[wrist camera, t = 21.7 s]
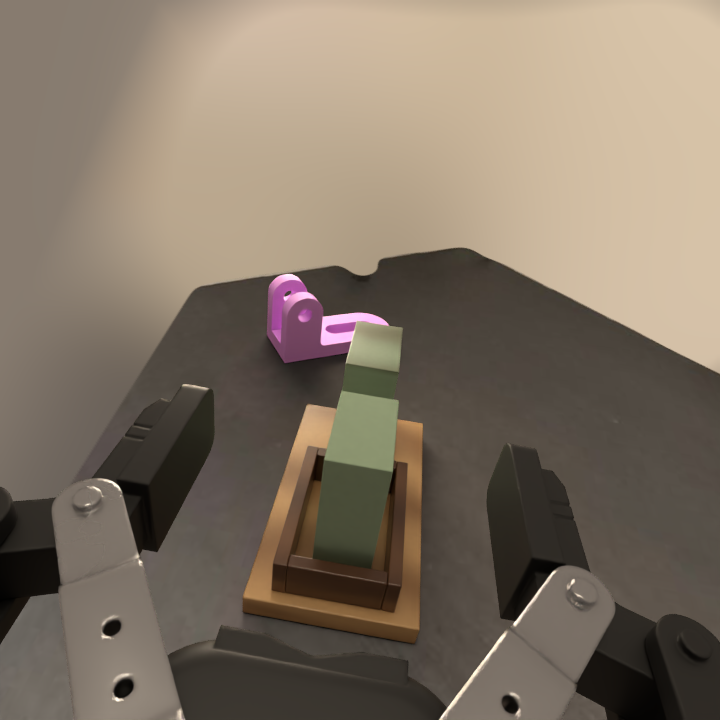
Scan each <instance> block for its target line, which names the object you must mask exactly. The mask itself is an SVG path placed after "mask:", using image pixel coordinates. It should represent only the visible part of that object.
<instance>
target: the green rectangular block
mask: <svg viewBox="0 0 720 720" xmlns="http://www.w3.org/2000/svg"><path fill="white" fill-rule="evenodd" d="M398 407H399V401H398V400H392V399H386V398H380V397H374V396H369V395H363V394H357V393H351V392H345V391H342V392H341V395H340V399H339V403H338V407H337V411H336V415H335V418H334V422H333V426H332V430H331V434H330V438H329V442H328V446H327V450H326V454H325V458H324V464H323V473H322V481H321V490H320V498H319V506H318V515H317V523H316V532H315V540H314V549H313V557H312V559H318V560H323V561H329V562H335V563H340V564H346V565H351V566H357V567H362V568H368V569H371V568H372V563H373V559H374V554H375V550H376V545H377V541H378V536H379V532H380V527H381V523H382V518H383V514H384V509H385V505H386V500H387V496H388V491H389V487H390V482H391V478H392V473H393V464H394V453H395V441H396V430H397V418H398Z"/></svg>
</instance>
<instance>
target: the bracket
mask: <svg viewBox="0 0 720 720" xmlns="http://www.w3.org/2000/svg"><path fill="white" fill-rule="evenodd" d="M290 290H292V292H291V294H290V295H289V296H286V297H284V294H285V293H286V292H287V291H290ZM306 309H307V310H306ZM357 321H363V322H369V323H375V324H381V325H387V326H389V325H388V324H387V322H386V321H384V320H383V319H381V318H380V317H377V316H375V315H371V314H366V313H351V314H343V315H335V316H327V317H323V308H322V305H321V304H320V303H319V301H318V300H317V299H316V298H315V297H314V296H313V295H312V294H310V293H307V289H306V287H305V285H304V284H303V283H302V282H301V281H300V279H299V278H298V277H296V276H295V275H292V274H284V275H281V276H279V277H277V278H276V279H274V280H273V282H272V283H271V285H270V287H269V290H268V320H267V336H268V338H269V339H270V341H271V342H272V344H273V345H274V347H275V349H276V350H277V352H278V353H279V355H280V357H281V358H282V360H283V361H284V363H289V362H295V361H301V360H307V359H313V358H319V357H326V356H332V355H338V354H344V353H349V349H350V345H351V341H352V337H353V333H354V329H355V325H356V322H357Z"/></svg>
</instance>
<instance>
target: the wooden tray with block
mask: <svg viewBox="0 0 720 720" xmlns="http://www.w3.org/2000/svg"><path fill="white" fill-rule="evenodd" d="M402 333H403V328H399V327H393V326H387V325H381V324H375V323H369V322H363V321H357V322H356V325H355V329H354V333H353V337H352V341H351V345H350V349H349V353H348V357H347V360H346V365H345V373H344V380H343V388H342V391H345V392H351V393H357V394H363V395H369V396H374V397H380V398H386V399H392V400H393V399H394V394H395V389H396V384H397V379H398V374H399V366H400V355H401V344H402ZM336 411H337V409H334V408H328V407H322V406H316V405H311V404H307V406H306V409H305V412H304V415H303V418H302V421H301V424H300V427H299V430H298V433H297V436H296V439H295V442H294V445H293V448H292V451H291V454H290V457H289V460H288V463H287V466H286V469H285V472H284V475H283V478H282V481H281V484H280V487H279V490H278V493H277V496H276V499H275V502H274V505H273V508H272V511H271V514H270V517H269V520H268V523H267V526H266V529H265V532H264V535H263V538H262V541H261V544H260V547H259V550H258V553H257V556H256V559H255V562H254V565H253V568H252V571H251V574H250V577H249V580H248V583H247V586H246V589H245V592H244V595H243V612H245V613H250V614H256V615H261V616H267V617H272V618H277V619H283V620H288V621H294V622H299V623H305V624H310V625H315V626H321V627H326V628H332V629H337V630H343V631H348V632H353V633H359V634H364V635H370V636H375V637H381V638H386V639H391V640H397V641H402V642H408V643H413V644H414V643H415V641H416V638H417V635H418V632H419V630H420V570H421V509H422V447H423V424H421V423H415V422H410V421H404V420H398V419H397V430H396V441H395V453H394V464H393V473H392V478H391V482H390V487H389V491H388V496H387V500H386V505H385V509H384V514H383V518H382V523H381V527H380V532H379V536H378V541H377V545H376V550H375V554H374V559H373V563H372V568H371V569H368V568H362V567H357V566H351V565H346V564H340V563H335V562H329V561H323V560H318V559H312V557H313V549H314V540H315V532H316V523H317V515H318V506H319V498H320V490H321V481H322V473H323V464H324V458H325V454H326V450H327V446H328V442H329V438H330V434H331V430H332V426H333V422H334V418H335V415H336Z"/></svg>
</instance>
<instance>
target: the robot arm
mask: <svg viewBox="0 0 720 720" xmlns="http://www.w3.org/2000/svg"><path fill="white" fill-rule="evenodd" d="M214 430H215V429H214V394H213V390H212V389H210V388H205V387H199V386H194V385H188V384H183V385H182V386H181V387H180V389H179V390H178V392H177V393H176V394H175V396H174V397H173V399H172V400H171V401H170V400H165V399H160V400H158V401H156V402H155V403H153V404H152V405H150V406H148V407H147V408H145V409H144V410H143V411H142V413H141V414H140V415H139V417H138V418H137V419H136V421H135V422H134V425H133V426H131V427H130V428H129V430H128V431H127V432H126V434H125V437H123V438H122V439H121V440H120V442H119V443H118V444H117V446H116V447H115V448H114V449H113V451H112V452H111V453H110V455H109V456H108V457H107V459H106V460H105V461H104V463H103V464H102V465H101V467H100V468H99V469H98V470H97V472H96V473H95V474H94V476H93V477H92V478H91V479H86V480H82V481H79V482H76V483H74V484H72V485H70V486H69V487H67V488H66V489H64V490H63V491H62V492H61V493H60V494H59V495H58V496H57V497H56V498H49V499H39V500H26V501H12V498H11V496H10V493H9V492H8V491H7V490H6V489H4V488H2V487H0V644H1V642H2V641H3V639H4V638H5V636H6V634H7V633H8V631H9V630H10V628H11V627H12V625H13V623H14V622H15V620H16V619H17V617H18V616H19V614H20V612H21V611H22V609H23V608H24V606H25V605H26V603H27V601H28V600H29V598H30V597H31V596H38V595H46V594H54V593H59V602H60V610H61V619H62V627H63V635H64V643H65V651H66V659H67V668H68V676H69V684H70V692H71V700H72V708H73V717H74V720H560V718H561V717H562V715H563V713H564V711H565V709H566V708H567V706H568V704H569V702H570V700H571V699H572V697H573V695H574V693H575V692H577V693H579V694H581V695H583V696H584V697H586V698H588V699H590V700H592V701H594V702H596V703H597V704H599V705H601V706H603V707H605V710H606V715H607V720H720V642H719V641H718V639H717V638H716V637H715V636H714V635H713V634H712V633H711V632H710V631H709V630H707V629H706V628H705V627H704V626H702V625H701V624H699V623H698V622H696V621H694V620H692V619H690V618H688V617H685V616H682V615H677V614H669V615H665V616H663V617H662V618H661V619H660V620H659V621H658V622H657V623H655V622H653V621H651V620H649V619H647V618H645V617H643V616H641V615H638V614H636V613H634V612H632V611H630V610H628V609H626V608H624V607H622V606H620V605H619V604H617V603H616V602H614V599H613V597H612V595H611V593H610V591H609V590H608V588H607V587H606V586H605V584H604V583H603V582H602V581H601V580H600V579H599V578H597V577H596V576H595V575H593V574H592V573H591V572H590V570H589V566H588V563H587V560H586V556H585V553H584V550H583V546H582V543H581V539H580V536H579V533H578V529H577V526H576V523H575V521H574V520H573V518H574V516H573V513H572V509H571V507H569V504H570V503H569V499H568V496H567V493H566V489H565V487H564V485H563V484H562V483H561V481H560V480H559V479H558V477H557V476H556V475H555V474H554V472H553V471H550V470H545V469H541V465H540V461H539V457H538V453H537V451H536V449H535V448H531V447H526V446H520V445H515V444H509V443H506V444H505V445H504V447H503V449H502V452H501V455H500V457H499V460H498V462H497V465H496V467H495V470H494V472H493V475H492V477H491V480H490V483H489V486H488V491H487V512H488V520H489V528H490V536H491V544H492V553H493V561H494V569H495V577H496V585H497V593H498V602H499V610H500V618H501V619H507V620H512V621H516V622H515V623H514V624H513V626H512V627H509V628H508V629H507V630H506V631H505V632H504V634H503V635H502V636H501V638H500V639H499V640H498V642H497V643H496V644H495V646H494V647H493V648H492V650H491V651H490V652H489V654H488V655H487V656H486V658H485V659H484V660H483V662H482V663H481V664H480V666H479V667H478V668H477V670H476V671H475V672H474V674H473V675H472V676H471V678H470V679H469V680H468V682H467V683H466V684H465V686H464V687H463V688H462V690H461V691H460V692H459V694H458V695H457V696H456V698H455V699H454V700H453V702H452V703H451V704H450V706H449V707H448V708H447V707H446V706H445V705H444V704H443V703H442V702H441V701H440V700H439V699H438V697H437V696H436V695H434V694H433V693H432V692H431V691H430V690H429V689H427V688H426V687H425V686H423V685H422V684H420V683H419V682H417V681H416V680H414V679H412V678H410V677H408V661H407V660H401V659H396V658H391V657H386V656H381V655H375V654H370V653H365V652H356V653H343V654H331V655H319V656H313V655H309V654H307V653H305V652H303V651H301V650H298V649H296V648H294V647H292V646H290V645H288V644H286V643H284V642H282V641H280V640H278V639H276V638H274V637H272V636H270V635H268V634H265V633H260V632H255V631H250V630H244V629H239V628H234V627H229V626H224V625H221V627H220V629H219V632H218V635H217V638H216V640H208V641H203V642H198V643H195V644H192V645H189V646H186V647H183V648H181V649H179V650H177V651H175V652H173V653H171V654H169V655H167V652H166V648H165V644H164V640H163V637H162V633H161V629H160V625H159V622H158V618H157V614H156V611H155V607H154V603H153V599H152V596H151V592H150V588H149V585H148V581H147V577H146V573H145V570H144V566H143V563H142V559H141V557H139V555H140V553H141V551H142V549H143V550H149V551H154V552H158V550H159V548H160V546H161V544H162V542H163V540H164V539H165V537H166V535H167V533H168V531H169V529H170V527H171V525H172V523H173V521H174V520H175V518H176V516H177V514H178V512H179V510H180V508H181V506H182V504H183V502H184V501H185V499H186V497H187V495H188V493H189V491H190V489H191V487H192V485H193V483H194V481H195V480H196V478H197V476H198V474H199V472H200V470H201V468H202V466H203V464H204V462H205V461H206V459H207V457H208V455H209V453H210V450H211V447H212V444H213V440H214Z"/></svg>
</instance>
